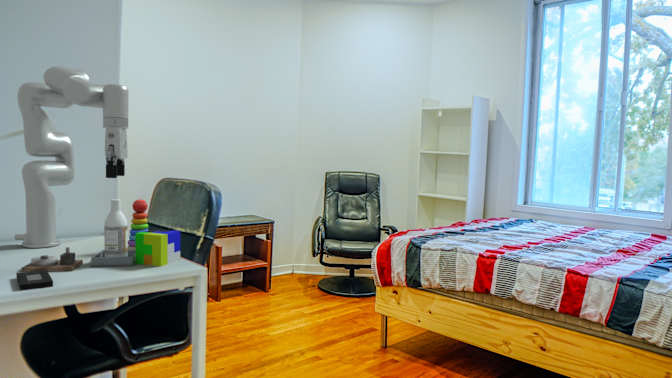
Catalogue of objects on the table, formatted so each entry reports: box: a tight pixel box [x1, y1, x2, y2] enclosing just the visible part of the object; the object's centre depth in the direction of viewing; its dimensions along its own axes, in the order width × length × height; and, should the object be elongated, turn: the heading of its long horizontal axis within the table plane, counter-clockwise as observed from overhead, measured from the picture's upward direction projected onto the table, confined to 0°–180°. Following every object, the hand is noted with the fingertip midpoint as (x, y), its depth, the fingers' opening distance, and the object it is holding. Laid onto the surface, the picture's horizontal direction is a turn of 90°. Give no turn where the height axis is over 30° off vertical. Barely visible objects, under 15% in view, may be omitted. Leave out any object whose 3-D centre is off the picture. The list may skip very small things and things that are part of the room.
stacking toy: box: [128, 198, 149, 250], centre depth 184 cm, size 8×8×19 cm
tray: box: [90, 249, 136, 268], centre depth 165 cm, size 12×12×3 cm
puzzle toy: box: [135, 228, 181, 267], centre depth 167 cm, size 10×10×10 cm
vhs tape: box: [15, 270, 54, 292], centre depth 139 cm, size 8×14×2 cm, turn 36°
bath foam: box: [103, 198, 129, 257], centre depth 165 cm, size 7×7×20 cm
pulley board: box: [20, 246, 84, 273], centre depth 156 cm, size 14×10×6 cm
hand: (115, 176), depth 163 cm, fingers open, 9 cm apart
